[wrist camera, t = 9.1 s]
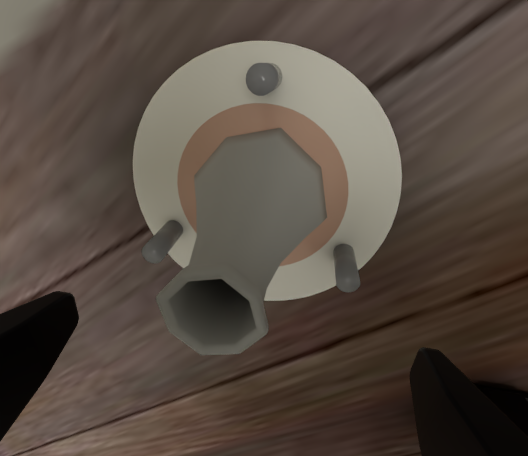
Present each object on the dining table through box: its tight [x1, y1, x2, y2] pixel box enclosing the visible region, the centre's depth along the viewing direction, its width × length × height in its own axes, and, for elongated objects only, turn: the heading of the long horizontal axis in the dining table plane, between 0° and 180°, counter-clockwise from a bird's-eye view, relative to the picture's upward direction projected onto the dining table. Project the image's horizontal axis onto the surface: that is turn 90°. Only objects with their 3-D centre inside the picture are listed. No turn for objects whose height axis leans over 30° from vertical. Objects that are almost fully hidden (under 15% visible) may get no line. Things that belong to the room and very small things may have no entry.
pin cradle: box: [133, 41, 402, 301], centre depth 18 cm, size 15×15×4 cm
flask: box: [156, 128, 327, 355], centre depth 14 cm, size 7×7×10 cm
